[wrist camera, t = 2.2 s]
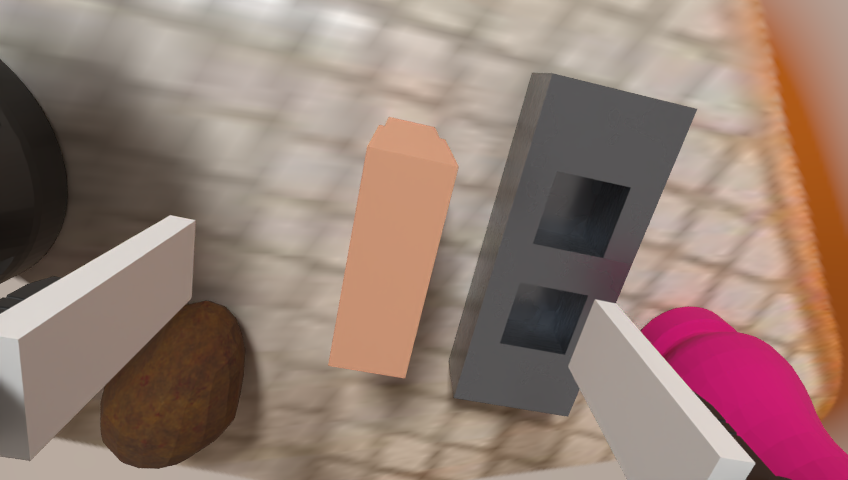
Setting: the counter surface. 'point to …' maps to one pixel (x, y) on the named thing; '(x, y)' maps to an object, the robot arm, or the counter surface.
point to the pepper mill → (749, 392)
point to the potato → (176, 389)
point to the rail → (561, 236)
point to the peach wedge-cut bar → (392, 247)
